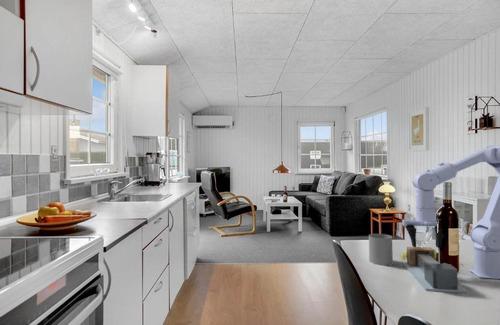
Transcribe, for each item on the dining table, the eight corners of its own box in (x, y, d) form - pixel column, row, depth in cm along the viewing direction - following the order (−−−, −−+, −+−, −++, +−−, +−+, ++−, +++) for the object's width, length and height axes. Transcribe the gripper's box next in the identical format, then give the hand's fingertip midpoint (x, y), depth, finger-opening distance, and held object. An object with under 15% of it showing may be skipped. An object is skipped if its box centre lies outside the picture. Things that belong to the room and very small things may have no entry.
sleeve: (446, 280, 101) (446, 261, 101) (457, 289, 93) (457, 269, 93) (424, 278, 102) (424, 260, 103) (433, 288, 95) (433, 268, 95)
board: (435, 266, 117) (435, 264, 117) (467, 293, 92) (467, 290, 92) (403, 264, 119) (403, 263, 119) (425, 290, 95) (425, 288, 95)
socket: (431, 264, 117) (430, 247, 117) (434, 267, 114) (434, 250, 114) (407, 263, 119) (406, 246, 119) (409, 266, 115) (409, 249, 115)
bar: (425, 264, 116) (425, 251, 116) (443, 281, 100) (443, 266, 100) (415, 264, 117) (414, 251, 117) (431, 280, 101) (430, 265, 101)
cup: (394, 265, 118) (394, 239, 118) (371, 264, 120) (371, 238, 120) (389, 259, 126) (389, 234, 126) (367, 258, 128) (367, 233, 128)
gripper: (405, 209, 108) (406, 249, 108) (452, 209, 105) (454, 250, 105) (400, 206, 115) (401, 243, 115) (444, 206, 112) (445, 245, 112)
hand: (426, 246), depth 110 cm, fingers open, 7 cm apart
